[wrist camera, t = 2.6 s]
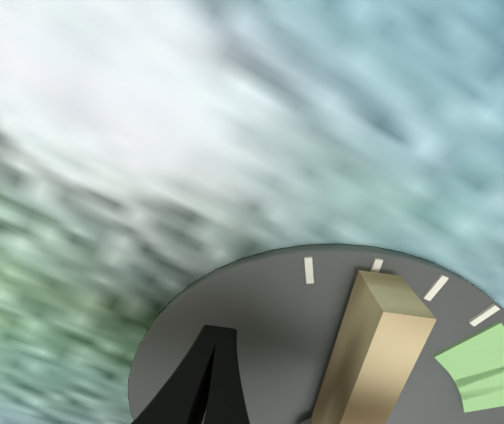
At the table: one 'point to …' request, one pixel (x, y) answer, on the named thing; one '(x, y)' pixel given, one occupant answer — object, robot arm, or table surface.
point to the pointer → (373, 351)
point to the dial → (329, 334)
